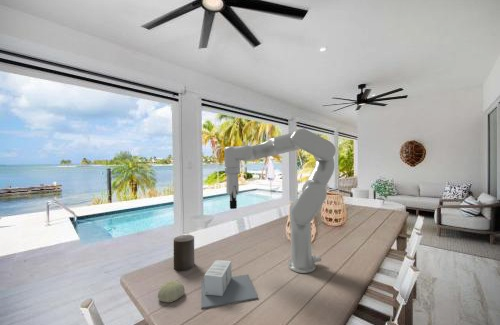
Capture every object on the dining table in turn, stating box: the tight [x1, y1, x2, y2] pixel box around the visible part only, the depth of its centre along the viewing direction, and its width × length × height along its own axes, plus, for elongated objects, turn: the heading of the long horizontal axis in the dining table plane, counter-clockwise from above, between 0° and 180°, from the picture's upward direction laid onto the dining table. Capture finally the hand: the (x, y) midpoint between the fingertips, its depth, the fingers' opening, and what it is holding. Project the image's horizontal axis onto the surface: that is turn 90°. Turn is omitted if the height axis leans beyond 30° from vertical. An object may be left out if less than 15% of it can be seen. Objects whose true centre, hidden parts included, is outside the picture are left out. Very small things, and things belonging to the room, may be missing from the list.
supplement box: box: [203, 259, 233, 296], centre depth 82 cm, size 7×7×13 cm
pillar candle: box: [173, 234, 195, 272], centre depth 101 cm, size 10×10×15 cm
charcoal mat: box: [200, 274, 259, 310], centre depth 80 cm, size 20×16×1 cm
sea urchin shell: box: [157, 280, 185, 304], centre depth 78 cm, size 9×8×8 cm
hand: (233, 208), depth 102 cm, fingers closed
